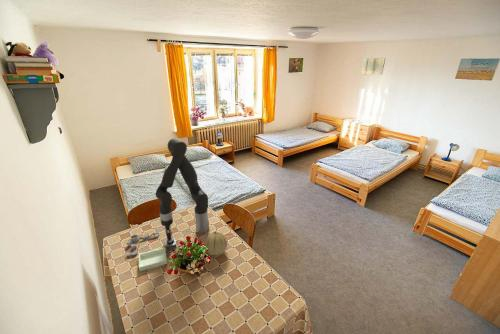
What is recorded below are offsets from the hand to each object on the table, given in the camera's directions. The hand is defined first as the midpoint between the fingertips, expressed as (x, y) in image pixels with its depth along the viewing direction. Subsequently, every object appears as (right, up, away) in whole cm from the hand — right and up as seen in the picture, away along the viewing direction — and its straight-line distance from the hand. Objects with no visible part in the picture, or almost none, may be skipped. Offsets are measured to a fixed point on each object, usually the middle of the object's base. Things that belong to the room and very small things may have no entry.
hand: (168, 236), depth 164 cm
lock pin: (0, -7, +4) cm, 8 cm away
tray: (-7, -13, -9) cm, 17 cm away
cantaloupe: (+33, -10, -1) cm, 34 cm away
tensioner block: (0, -7, +4) cm, 8 cm away
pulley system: (-22, -6, +6) cm, 24 cm away
